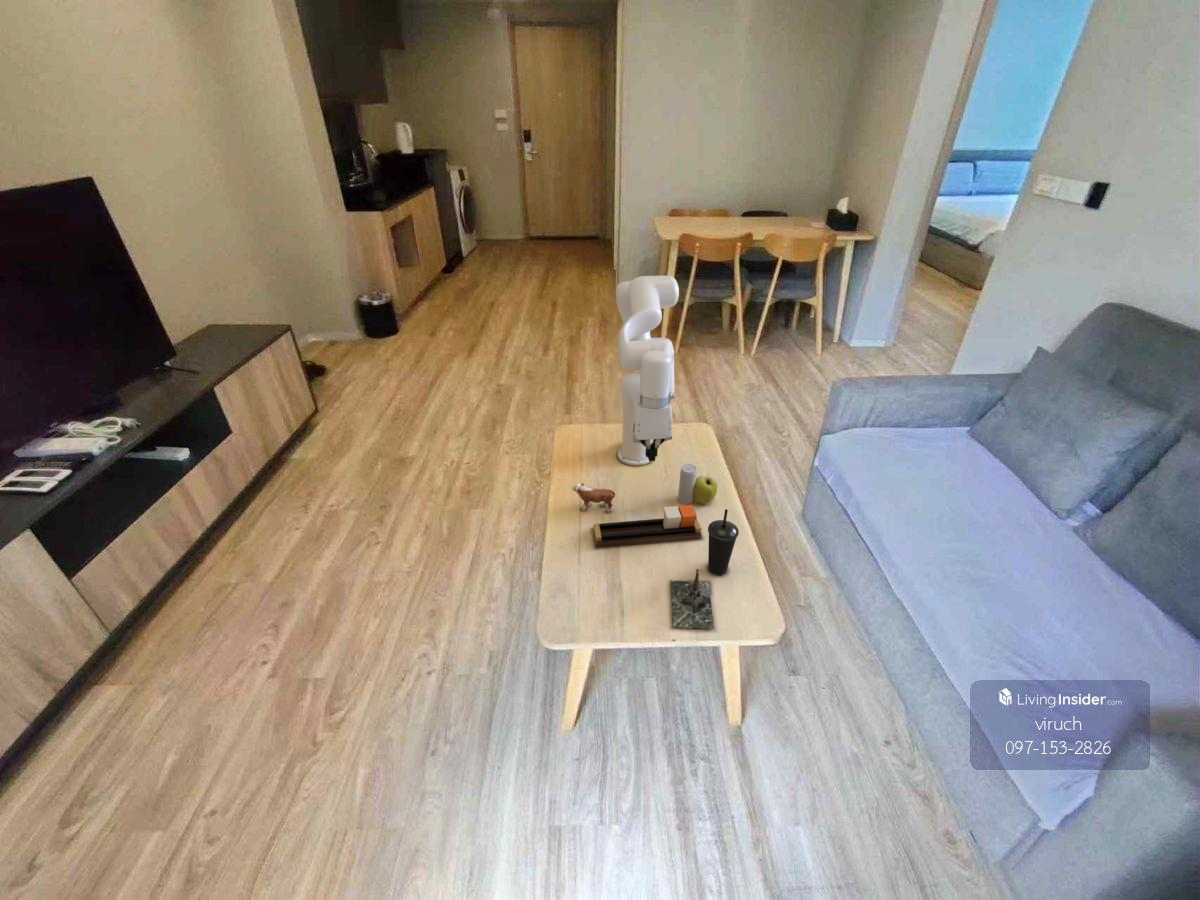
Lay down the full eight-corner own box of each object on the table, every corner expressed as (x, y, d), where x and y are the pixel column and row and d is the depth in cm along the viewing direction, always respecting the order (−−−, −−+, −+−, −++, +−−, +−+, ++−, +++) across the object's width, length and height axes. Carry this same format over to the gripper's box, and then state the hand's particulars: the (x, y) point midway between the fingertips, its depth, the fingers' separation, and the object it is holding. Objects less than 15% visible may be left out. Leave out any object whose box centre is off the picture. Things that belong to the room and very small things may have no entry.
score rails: (593, 527, 154) (593, 523, 154) (695, 519, 157) (695, 515, 157) (596, 541, 149) (596, 537, 149) (700, 532, 152) (701, 528, 152)
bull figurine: (573, 500, 168) (572, 479, 163) (615, 506, 165) (616, 484, 161) (570, 509, 164) (569, 488, 160) (613, 514, 162) (613, 493, 157)
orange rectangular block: (677, 520, 156) (678, 505, 153) (690, 519, 157) (692, 504, 154) (681, 532, 152) (682, 516, 149) (695, 531, 152) (696, 515, 150)
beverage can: (687, 506, 165) (691, 474, 158) (674, 500, 167) (677, 468, 161) (696, 499, 168) (700, 468, 161) (683, 493, 170) (686, 462, 164)
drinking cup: (697, 563, 144) (704, 505, 133) (721, 555, 147) (730, 497, 136) (713, 582, 138) (722, 523, 127) (737, 574, 141) (748, 515, 130)
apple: (683, 491, 169) (694, 466, 165) (705, 495, 172) (717, 469, 167) (691, 507, 163) (703, 481, 158) (714, 510, 165) (727, 484, 161)
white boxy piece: (662, 522, 156) (663, 507, 153) (675, 521, 156) (677, 506, 153) (666, 533, 152) (667, 518, 149) (679, 532, 152) (681, 517, 149)
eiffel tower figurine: (669, 581, 139) (672, 542, 132) (708, 582, 138) (714, 544, 131) (672, 628, 126) (676, 588, 119) (715, 630, 126) (722, 590, 118)
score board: (593, 529, 156) (593, 525, 155) (693, 520, 159) (694, 516, 158) (596, 548, 149) (596, 544, 149) (701, 538, 152) (701, 534, 152)
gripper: (679, 390, 142) (674, 449, 151) (623, 394, 140) (622, 453, 150) (686, 403, 135) (680, 464, 145) (627, 407, 134) (626, 468, 144)
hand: (651, 458), depth 148 cm, fingers closed
